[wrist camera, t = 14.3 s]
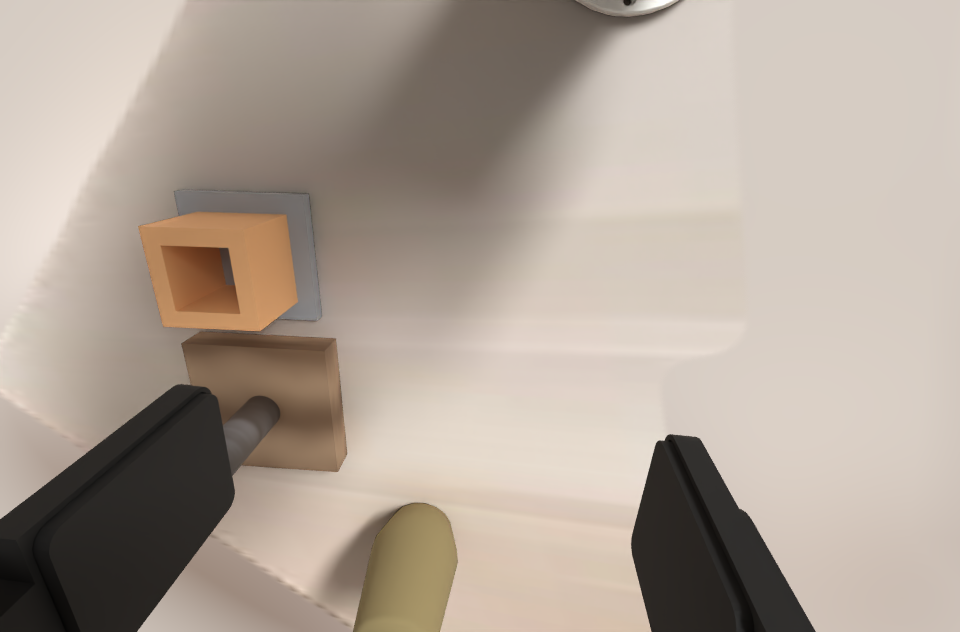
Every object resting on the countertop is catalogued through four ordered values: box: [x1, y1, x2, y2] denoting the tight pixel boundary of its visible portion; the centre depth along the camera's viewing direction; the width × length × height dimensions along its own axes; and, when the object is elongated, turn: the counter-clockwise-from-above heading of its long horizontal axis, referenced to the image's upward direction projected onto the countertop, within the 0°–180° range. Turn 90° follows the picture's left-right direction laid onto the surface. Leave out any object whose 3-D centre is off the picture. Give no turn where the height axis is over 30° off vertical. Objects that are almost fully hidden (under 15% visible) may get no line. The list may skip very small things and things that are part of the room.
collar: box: [138, 212, 298, 331], centre depth 34 cm, size 7×7×6 cm
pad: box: [174, 190, 322, 321], centre depth 37 cm, size 10×10×1 cm
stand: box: [181, 332, 347, 476], centre depth 38 cm, size 12×12×10 cm
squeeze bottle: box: [353, 503, 458, 632], centre depth 39 cm, size 8×8×18 cm
